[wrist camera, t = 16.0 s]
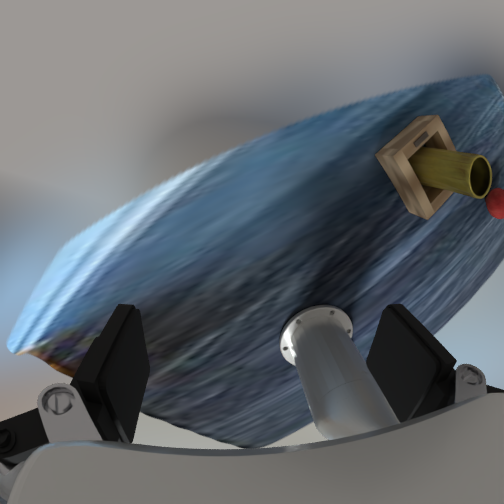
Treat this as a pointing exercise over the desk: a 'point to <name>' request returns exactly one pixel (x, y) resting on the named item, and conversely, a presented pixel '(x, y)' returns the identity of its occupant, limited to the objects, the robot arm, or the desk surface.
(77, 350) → the desk surface
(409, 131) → the wooden box
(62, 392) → the robot arm
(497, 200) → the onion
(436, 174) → the vase
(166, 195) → the desk surface
